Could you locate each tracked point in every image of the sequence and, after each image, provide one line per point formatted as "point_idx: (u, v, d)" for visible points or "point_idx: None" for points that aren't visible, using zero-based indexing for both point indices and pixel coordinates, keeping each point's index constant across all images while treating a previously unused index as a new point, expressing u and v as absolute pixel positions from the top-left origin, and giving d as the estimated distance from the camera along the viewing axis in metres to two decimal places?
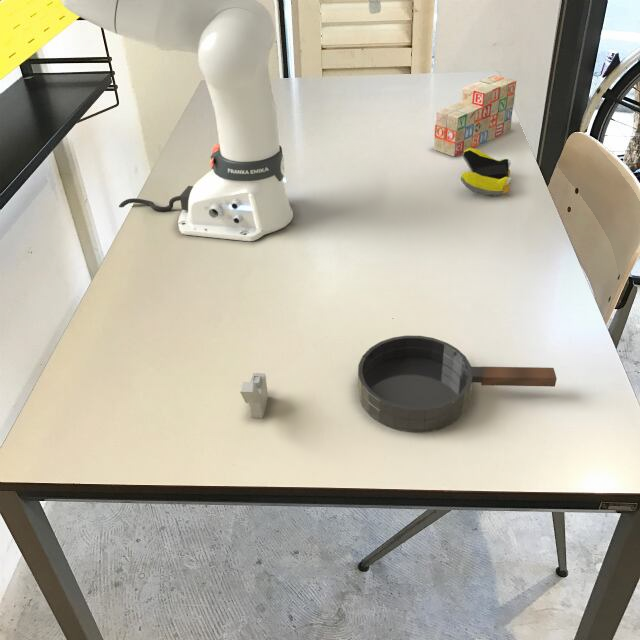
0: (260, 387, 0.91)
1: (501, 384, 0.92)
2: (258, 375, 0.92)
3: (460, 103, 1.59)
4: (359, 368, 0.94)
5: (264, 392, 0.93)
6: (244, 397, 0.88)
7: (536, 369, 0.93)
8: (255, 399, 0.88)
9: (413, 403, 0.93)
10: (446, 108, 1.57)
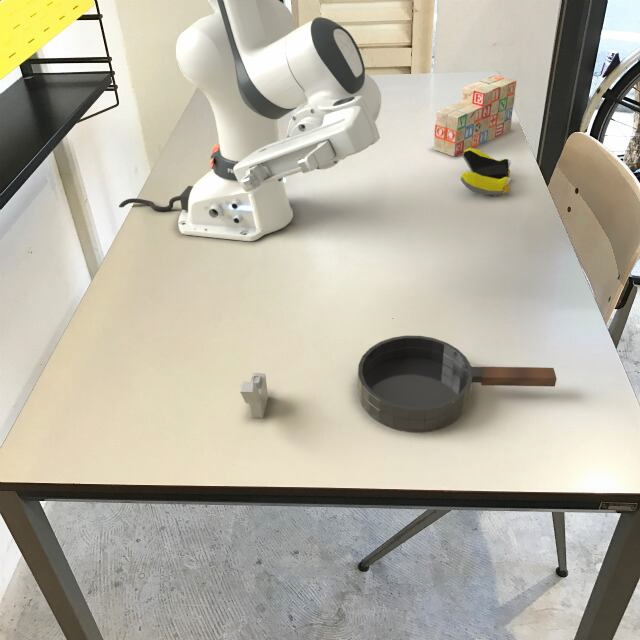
0: (260, 387, 0.91)
1: (501, 384, 0.92)
2: (258, 375, 0.92)
3: (460, 103, 1.59)
4: (359, 368, 0.94)
5: (264, 392, 0.93)
6: (244, 397, 0.88)
7: (536, 369, 0.93)
8: (255, 399, 0.88)
9: (413, 403, 0.93)
10: (446, 108, 1.57)
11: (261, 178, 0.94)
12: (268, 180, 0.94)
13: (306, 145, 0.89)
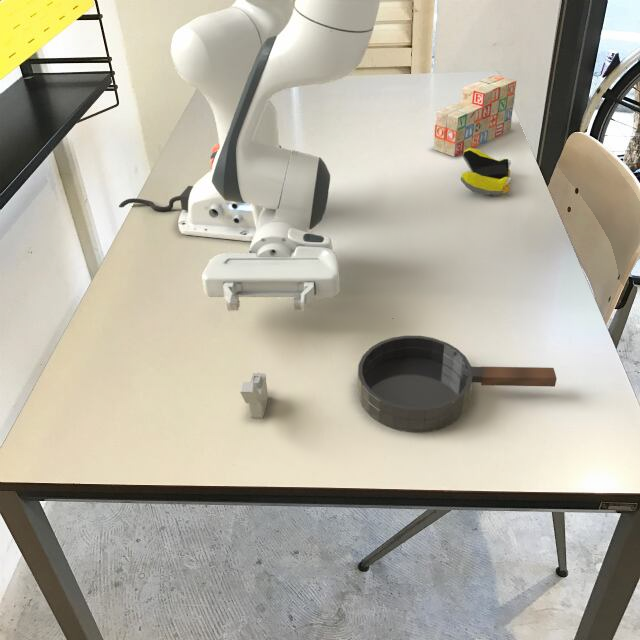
0: (260, 387, 0.91)
1: (501, 384, 0.92)
2: (258, 375, 0.92)
3: (460, 103, 1.59)
4: (359, 368, 0.94)
5: (264, 392, 0.93)
6: (244, 397, 0.88)
7: (536, 369, 0.93)
8: (255, 399, 0.88)
9: (413, 403, 0.93)
10: (446, 108, 1.57)
11: None
12: (238, 296, 1.02)
13: (290, 280, 1.00)
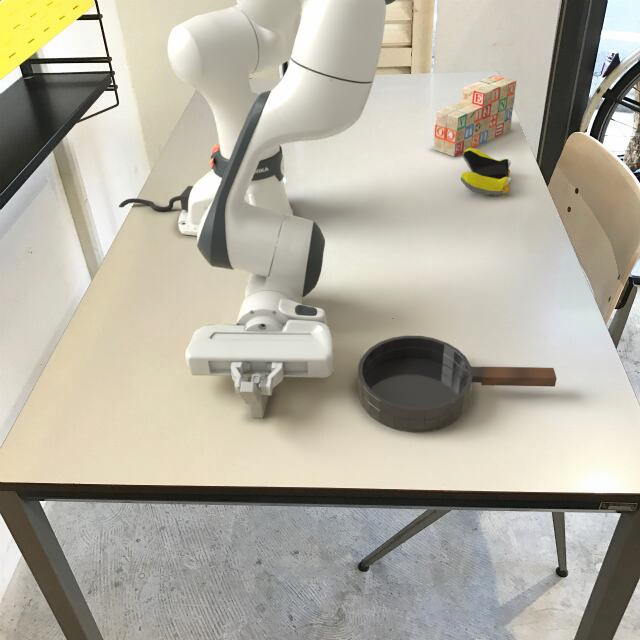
0: None
1: (501, 384, 0.92)
2: (258, 375, 0.92)
3: (460, 103, 1.59)
4: (359, 368, 0.94)
5: None
6: (244, 397, 0.88)
7: (536, 369, 0.93)
8: (255, 399, 0.88)
9: (413, 403, 0.93)
10: (446, 108, 1.57)
11: (242, 374, 0.94)
12: (224, 375, 0.95)
13: (281, 360, 0.93)
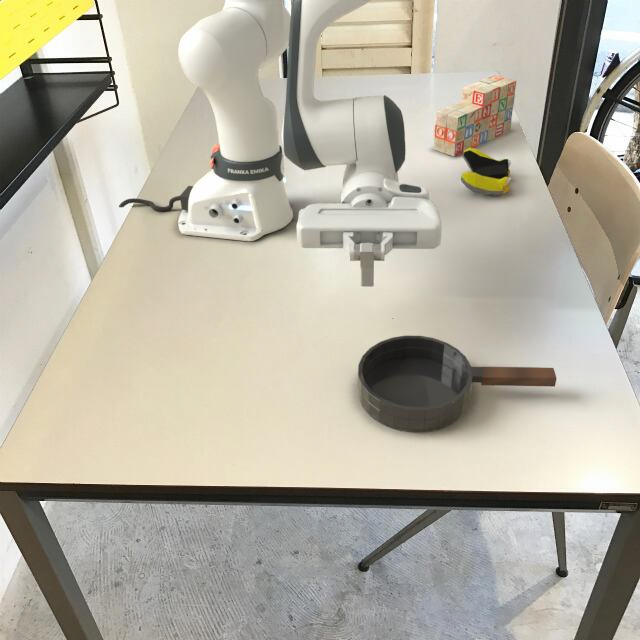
0: None
1: (501, 384, 0.92)
2: None
3: (460, 103, 1.59)
4: (359, 368, 0.94)
5: None
6: (361, 260, 0.91)
7: (536, 369, 0.93)
8: (372, 262, 0.91)
9: (413, 403, 0.93)
10: (446, 108, 1.57)
11: None
12: (334, 247, 0.98)
13: (391, 230, 0.95)
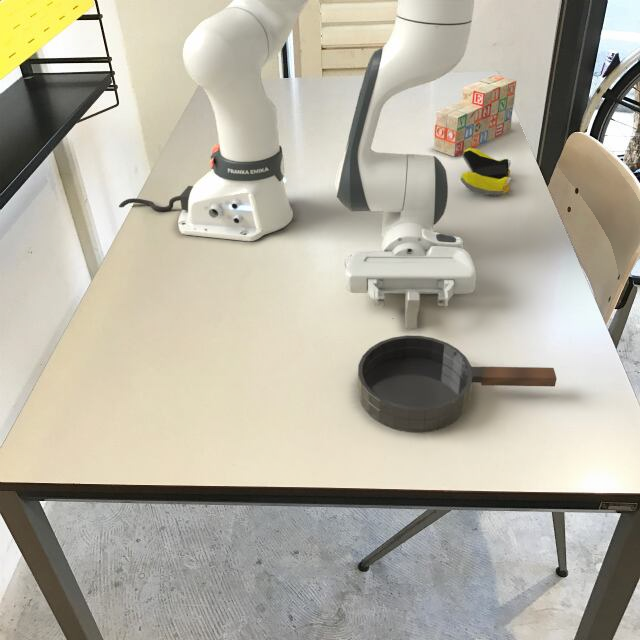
0: None
1: (501, 384, 0.92)
2: (413, 290, 1.06)
3: (460, 103, 1.59)
4: (359, 368, 0.94)
5: None
6: (408, 306, 1.02)
7: (536, 369, 0.93)
8: (417, 308, 1.03)
9: (413, 403, 0.93)
10: (446, 108, 1.57)
11: None
12: None
13: (431, 278, 1.07)
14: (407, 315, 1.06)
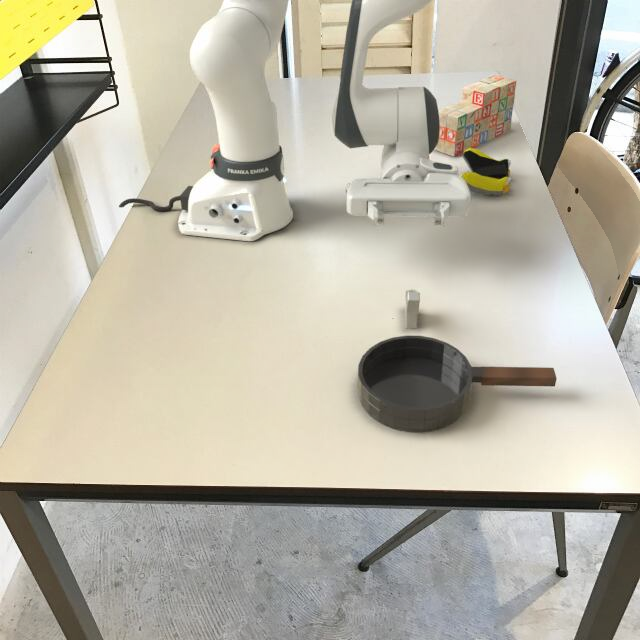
0: None
1: (501, 384, 0.92)
2: (413, 290, 1.06)
3: (460, 103, 1.59)
4: (359, 368, 0.94)
5: None
6: (408, 306, 1.02)
7: (536, 369, 0.93)
8: (417, 308, 1.03)
9: (413, 403, 0.93)
10: (446, 108, 1.57)
11: None
12: None
13: (428, 200, 1.12)
14: (407, 315, 1.06)
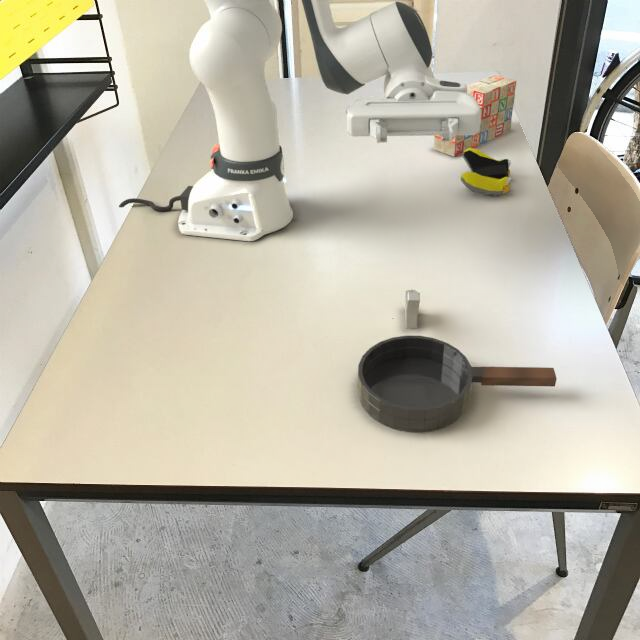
0: None
1: (501, 384, 0.92)
2: (413, 290, 1.06)
3: None
4: (359, 368, 0.94)
5: None
6: (408, 306, 1.02)
7: (536, 369, 0.93)
8: (417, 308, 1.03)
9: (413, 403, 0.93)
10: None
11: None
12: None
13: (435, 116, 1.04)
14: (407, 315, 1.06)
